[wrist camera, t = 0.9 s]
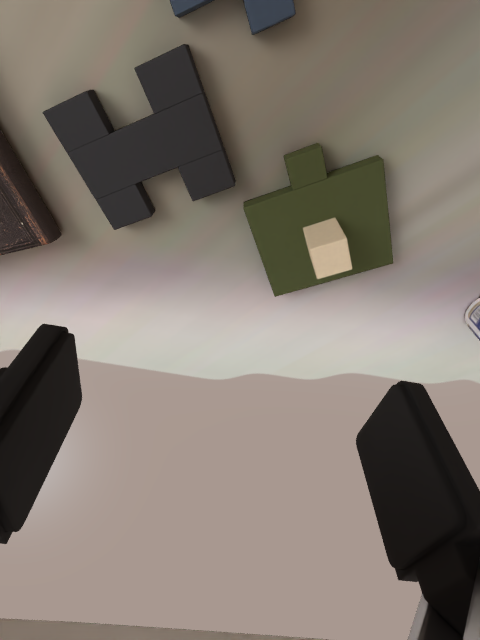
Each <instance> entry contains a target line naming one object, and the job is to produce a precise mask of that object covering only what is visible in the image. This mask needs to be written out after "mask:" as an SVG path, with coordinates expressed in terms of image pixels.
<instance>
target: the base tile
mask: <svg viewBox="0 0 480 640" xmlns="http://www.w3.org/2000/svg"><path fill="white" fill-rule="evenodd" d="M135 71H136V73H137V76H138V78H139V80H140V82H141V85H142V87H143V89H144V92H145V94H146V96H147V98H148V101H149V103H150V105H151V107H152V110H153V112H154V114H152V115H150V116H148V117H146V118H143V119H141V120H139V121H136V122H134V123H132V124H130V125H127V126H125V127H123V128H121V129H118V130H116V131H114V129H113V127H112V125H111V123H110V121H109V119H108V117H107V115H106V113H105V111H104V109H103V107H102V105H101V103H100V101H99V99H98V97H97V95H96V94H95V92H94V90H89V91H85V92H83V93H81V94H79V95H77V96H75V97H73V98H71V99H69V100H67V101H65V102H63V103H60V104H58V105H56V106H54V107H52V108H50V109H48V110H46V111H44V112H43V114H44V116H45V117H46V119H47V121H48V122H49V124H50V126H51V127H52V129H53V130H54V132H55V134H56V135H57V137H58V139H59V140H60V142H61V144H62V145H63V147H64V149H65V150H66V152H68V155H69V157H70V158H71V160H72V162H73V163H74V165H75V167H76V168H77V170H78V171H79V173H80V175H81V176H82V178H83V180H84V181H85V183H86V185H87V186H88V188H89V190H90V191H91V193H92V194H93V196H94V198H95V199H96V201H97V202H98V204H99V206H100V207H101V209H102V211H103V212H104V214H105V215H106V217H107V219H108V220H109V222H110V224H111V225H112V227H113V229H114V230H116V229H119V228H121V227H124V226H127V225H129V224H132V223H135V222H138V221H140V220H143V219H146V218H149V217H151V216H152V215H153V213H154V212H155V209H154V207H153V205H152V203H151V201H150V199H149V197H148V195H147V193H146V191H145V189H144V187H143V185H142V184H141V181H144V180H146V179H149V178H151V177H154V176H156V175H159V174H161V173H164V172H166V171H169V170H171V169H174V168H177V167H178V169H179V171H180V173H181V176H182V178H183V180H184V183H185V185H186V187H187V189H188V192H189V194H190V196H191V198H192V201H195V200H198V199H200V198H203V197H206V196H209V195H211V194H214V193H217V192H220V191H222V190H225V189H228V188H230V187H233V186H235V182H236V180H235V177H234V174H233V171H232V169H231V166H230V163H229V160H228V157H227V154H226V151H225V149H224V146H223V143H222V140H221V137H220V134H219V131H218V129H217V126H216V123H215V120H214V117H213V114H212V112H211V109H210V106H209V103H208V100H207V97H206V94H205V92H204V89H203V86H202V83H201V80H200V77H199V75H198V72H197V69H196V66H195V63H194V60H193V57H192V55H191V52H190V49H189V46H188V45H186V44H183V45H181V46H179V47H177V48H175V49H173V50H171V51H169V52H167V53H165V54H163V55H160V56H158V57H156V58H154V59H152V60H150V61H148V62H146V63H144V64H142V65H140V66H138V67H135Z"/></svg>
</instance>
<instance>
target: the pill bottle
mask: <svg viewBox="0 0 480 640" xmlns="http://www.w3.org/2000/svg"><path fill="white" fill-rule="evenodd" d="M465 321H466V324H467V325H468V327H469V328H470V329H471V331H472V332H473V333H474V334H475V336H476V337H477V338H478V339H479V340H480V298H478V299H477V300H475V301H474V302H473V303H472V304H471V305H470V306H469V308H468V309H467V311H466V314H465Z"/></svg>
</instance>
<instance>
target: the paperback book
mask: <svg viewBox="0 0 480 640" xmlns="http://www.w3.org/2000/svg"><path fill="white" fill-rule="evenodd" d="M60 236H61V232H60V230H59V228H58V227H57V225H56V223H55V222H54V220H53V218H52V217H51V215H50V213H49V211H48V210H47V208H46V206H45V205H44V203H43V201H42V200H41V198H40V196H39V195H38V193H37V191H36V189H35V188H34V186H33V184H32V183H31V181H30V179H29V178H28V176H27V174H26V172H25V171H24V169H23V167H22V166H21V164H20V162H19V161H18V159H17V157H16V155H15V154H14V152H13V150H12V149H11V147H10V145H9V144H8V142H7V140H6V139H5V137H4V135H3V133H2V132H1V130H0V255H3V254H8V253H12V252H16V251H20V250H24V249H29V248H33V247H37V246H41V245H45V244H49V243H51V242H53V241H55V240H57V239H58V238H59V237H60Z"/></svg>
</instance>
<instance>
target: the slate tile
mask: <svg viewBox="0 0 480 640" xmlns="http://www.w3.org/2000/svg"><path fill="white" fill-rule="evenodd" d="M212 1H214V0H170V2H171V5H172V8H173V11H174V14H175V16H177V17H178V18H180V17H182V16H184V15H186V14H188V13H190V12H192V11H194V10H196V9H198V8H200V7H202V6H204V5H206V4H208V3H210V2H212ZM243 2H244V5H245V9H246V13H247V17H248V21H249V25H250V29H251V32H252V35H254V34H256V33H259V32H261V31H263V30H265V29H267V28H269V27H271V26H274V25H276V24H278V23H280V22H282V21H284V20H287V19H289V18H291V17H293V16H294V15H295V13H296V12H295V7H294V2H293V0H243Z"/></svg>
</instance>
